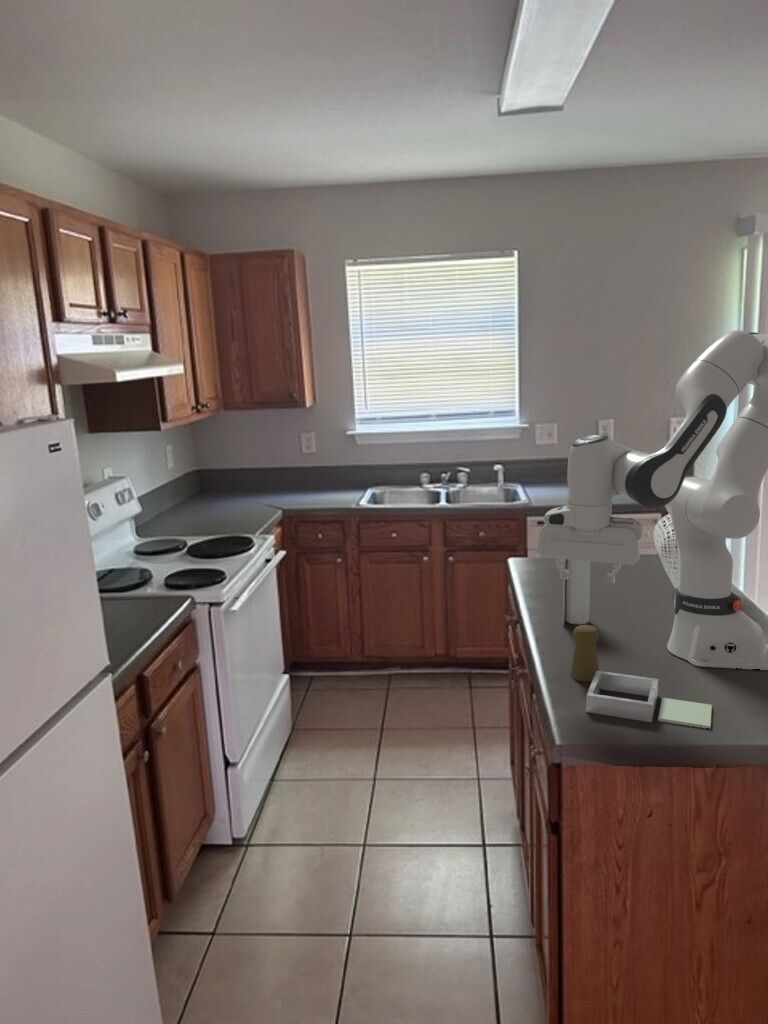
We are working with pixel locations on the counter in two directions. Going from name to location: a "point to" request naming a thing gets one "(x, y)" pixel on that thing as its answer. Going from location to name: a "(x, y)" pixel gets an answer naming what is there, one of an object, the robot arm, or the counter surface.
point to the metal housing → (622, 705)
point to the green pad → (685, 713)
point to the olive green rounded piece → (585, 653)
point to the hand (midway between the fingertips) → (587, 580)
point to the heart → (672, 552)
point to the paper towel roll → (576, 592)
